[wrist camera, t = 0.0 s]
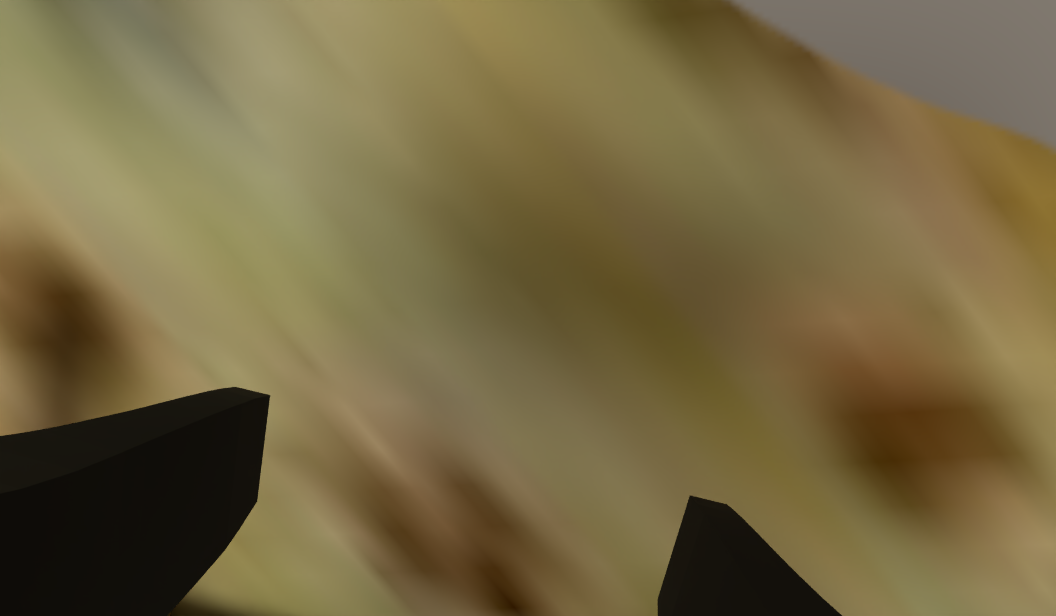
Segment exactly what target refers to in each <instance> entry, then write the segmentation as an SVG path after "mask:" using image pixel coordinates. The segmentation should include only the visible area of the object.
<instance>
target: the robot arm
mask: <svg viewBox="0 0 1056 616" xmlns="http://www.w3.org/2000/svg"><path fill="white" fill-rule="evenodd" d="M269 399H270V395H267V394H263V393H259V392H254V391H250V390H246V389H242V388H238V387H231V388H223V389H217V390H212V391H207V392H203V393H199V394H195V395H190V396H186V397H182V398H178V399H174V400H170V401H166V402H162V403H158V404H155V405H151V406H147V407H143V408H139V409H135V410H131V411H127V412H123V413H118V414H113V415H109V416H104V417H100V418H95V419H91V420H86V421H81V422H77V423H72V424H68V425H63V426H59V427H53V428H48V429H42V430H37V431H31V432H25V433H19V434H12V435H5V436H0V616H168V615H169V613H170V612H171V611H172V610H173V609H174V608H175V607H176V605H177V604H178V603H179V602H180V601H181V600H182V599H183V598H184V596H185V595H186V594H187V593H188V592H189V591H190V590H191V589H192V587H193V586H194V585H195V584H196V583H197V582H198V581H199V579H200V578H201V577H202V576H203V575H204V574H205V573H206V571H207V570H208V569H209V568H210V567H211V566H212V565H213V563H214V562H215V561H216V560H217V559H218V558H219V556H220V555H221V554H222V553H223V552H224V550H225V549H226V548H227V546H228V545H229V543H230V542H231V541H232V539H233V538H234V536H235V535H236V533H237V532H238V530H239V529H240V527H241V526H242V524H243V523H244V521H245V519H246V518H247V516H248V515H249V513H250V512H251V510H252V508H253V507H254V505H255V504H256V502H257V498H258V489H259V481H260V473H261V465H262V457H263V448H264V440H265V432H266V424H267V416H268V407H269ZM658 616H842V615H841V614H840V613H839V612H837V611H836V610H835V609H834V608H833V607H832V606H831V605H830V604H829V603H827V602H826V601H825V600H824V599H823V598H822V597H821V596H820V595H819V594H818V593H817V592H816V591H815V590H813V589H812V588H811V587H810V586H809V585H808V584H807V583H806V582H805V581H804V580H803V579H802V578H801V577H800V576H799V575H798V574H797V573H796V572H795V571H794V570H793V569H792V568H791V567H790V566H789V565H788V564H787V563H786V562H785V561H784V560H783V559H782V558H781V557H780V556H779V555H778V554H777V553H776V552H775V551H774V550H773V549H772V548H771V547H770V546H769V545H768V544H767V543H766V542H765V541H764V540H763V539H762V538H761V537H760V536H759V534H758V533H757V532H756V531H755V530H754V529H753V528H752V527H751V526H750V525H749V524H748V523H747V522H746V521H745V520H744V519H743V518H742V517H741V516H739V515H738V514H737V513H736V512H735V511H734V510H733V509H732V508H731V507H729V506H728V505H727V504H723V503H719V502H715V501H711V500H707V499H702V498H698V497H694V496H690V497H689V500H688V503H687V507H686V510H685V513H684V516H683V519H682V523H681V526H680V529H679V532H678V536H677V539H676V542H675V545H674V548H673V552H672V555H671V558H670V561H669V564H668V568H667V571H666V574H665V577H664V581H663V584H662V587H661V590H660V593H659V597H658Z"/></svg>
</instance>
